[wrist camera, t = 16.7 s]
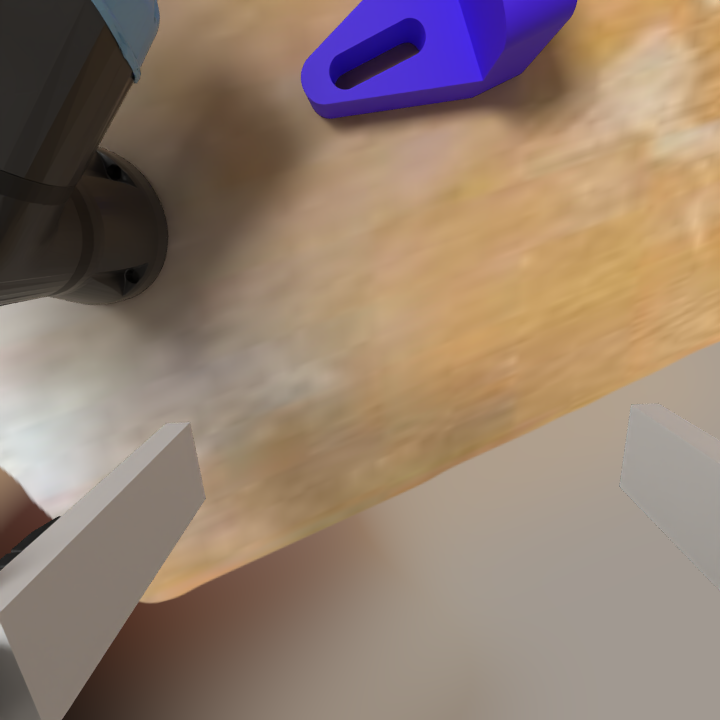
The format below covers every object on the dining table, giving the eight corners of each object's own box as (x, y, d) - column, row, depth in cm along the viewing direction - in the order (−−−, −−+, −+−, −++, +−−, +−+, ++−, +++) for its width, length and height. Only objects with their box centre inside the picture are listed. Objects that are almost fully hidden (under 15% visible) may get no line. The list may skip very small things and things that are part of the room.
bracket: (481, -68, 33) (534, -225, 22) (520, 74, 36) (586, -1, 25) (285, 40, 36) (242, -49, 25) (336, 164, 39) (318, 134, 27)
